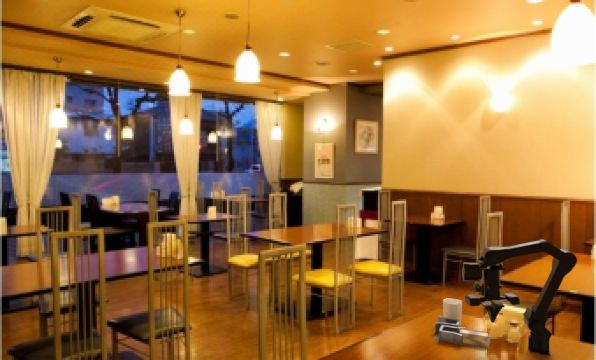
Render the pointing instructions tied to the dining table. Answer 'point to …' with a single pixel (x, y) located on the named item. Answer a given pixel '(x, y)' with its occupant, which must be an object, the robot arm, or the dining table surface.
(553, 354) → the dining table surface
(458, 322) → the end cap
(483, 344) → the wooden block
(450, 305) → the white cup
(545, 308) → the robot arm
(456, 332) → the end cap
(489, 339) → the mat
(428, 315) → the dining table surface
